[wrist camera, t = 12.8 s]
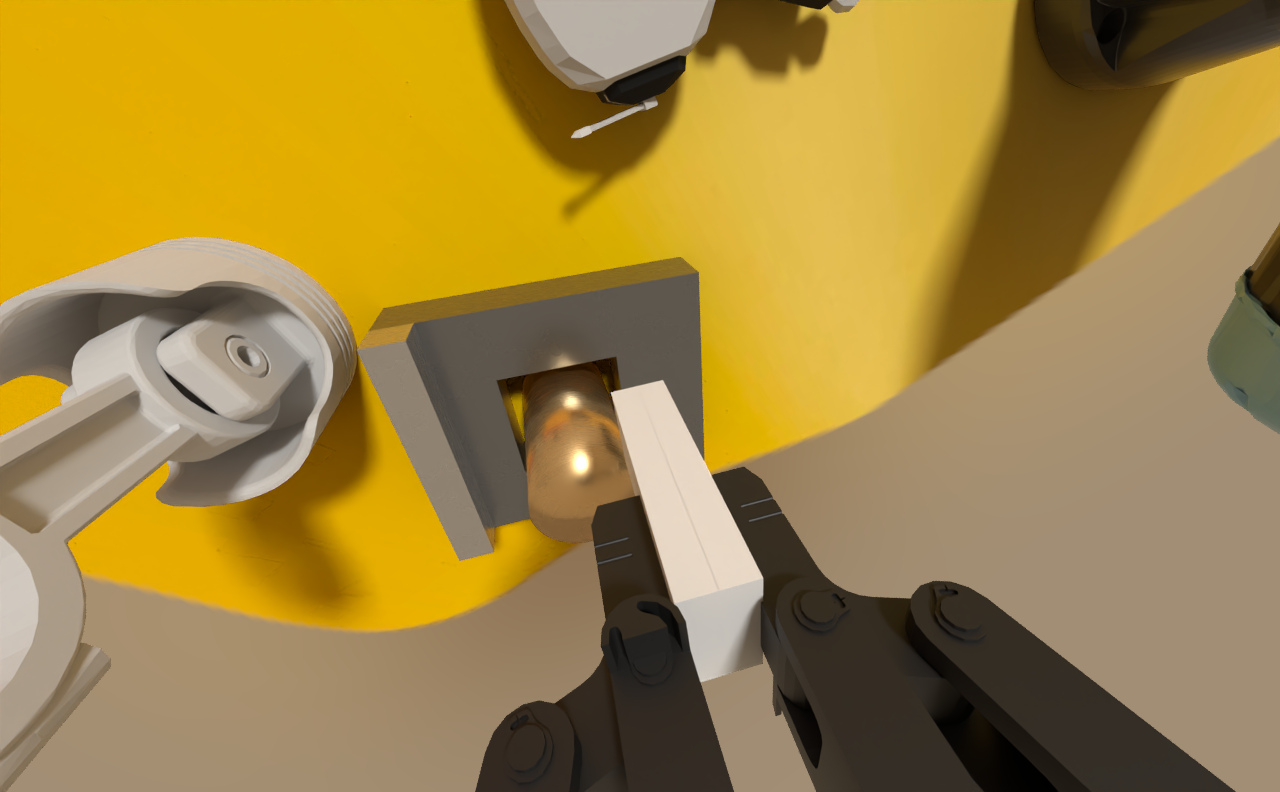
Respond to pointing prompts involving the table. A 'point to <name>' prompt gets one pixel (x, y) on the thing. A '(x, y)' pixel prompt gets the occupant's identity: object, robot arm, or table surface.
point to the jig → (518, 345)
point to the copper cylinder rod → (571, 450)
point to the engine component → (144, 431)
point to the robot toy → (621, 44)
